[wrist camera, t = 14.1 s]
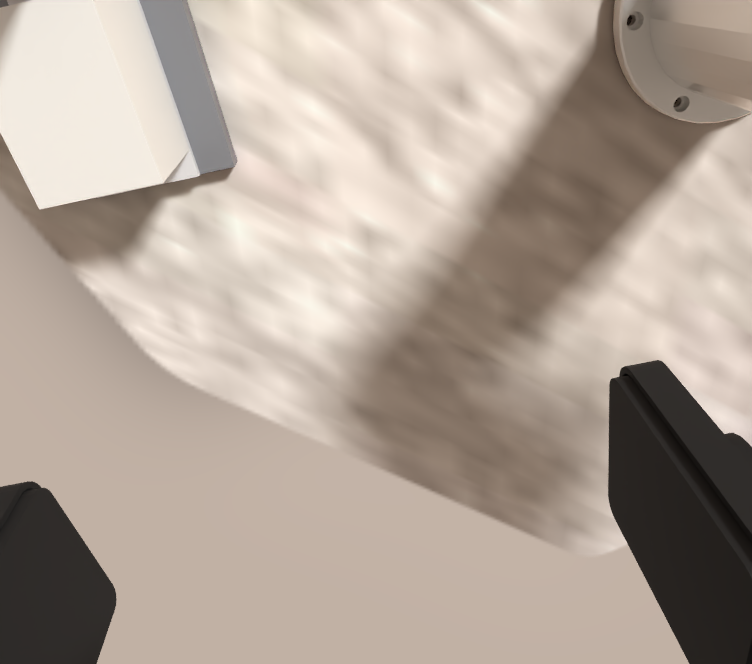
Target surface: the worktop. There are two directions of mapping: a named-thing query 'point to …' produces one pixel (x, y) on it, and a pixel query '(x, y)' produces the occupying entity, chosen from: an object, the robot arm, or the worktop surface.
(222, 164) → the rail board
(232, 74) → the worktop surface
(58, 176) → the mounted modules
